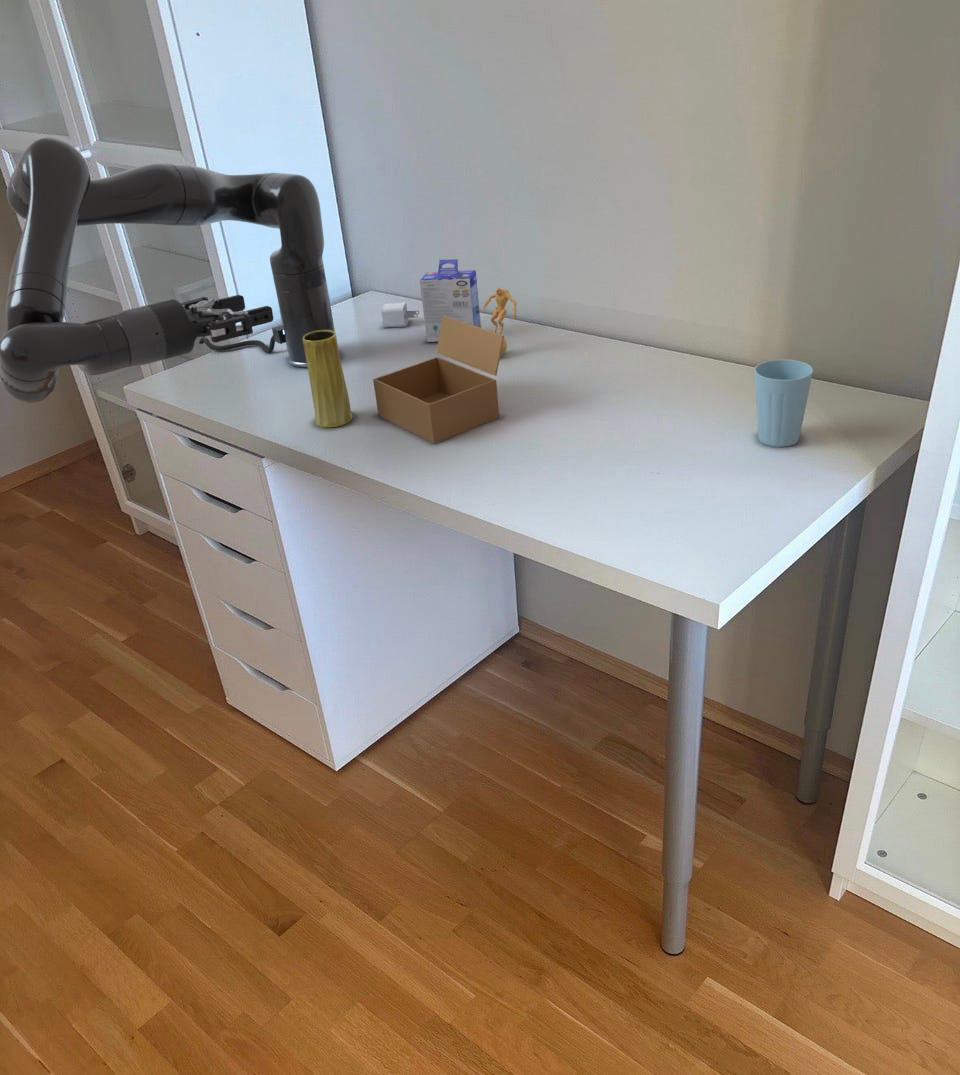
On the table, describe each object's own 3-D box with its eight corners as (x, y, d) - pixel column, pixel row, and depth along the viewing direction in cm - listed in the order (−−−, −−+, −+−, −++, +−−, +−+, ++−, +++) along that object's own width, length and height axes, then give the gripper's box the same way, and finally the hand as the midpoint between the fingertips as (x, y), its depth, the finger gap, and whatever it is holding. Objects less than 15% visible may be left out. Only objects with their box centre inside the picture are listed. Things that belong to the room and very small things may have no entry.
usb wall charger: (387, 322, 201) (385, 302, 199) (421, 320, 200) (418, 301, 198) (383, 328, 197) (381, 309, 195) (418, 327, 196) (415, 307, 194)
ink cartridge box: (483, 332, 190) (476, 256, 183) (477, 342, 185) (469, 265, 178) (433, 333, 192) (424, 258, 185) (426, 343, 188) (416, 267, 180)
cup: (748, 449, 138) (752, 378, 133) (752, 426, 144) (756, 358, 139) (805, 452, 136) (811, 381, 130) (807, 428, 142) (813, 359, 136)
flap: (442, 315, 160) (444, 315, 161) (436, 353, 162) (437, 353, 162) (502, 335, 149) (504, 335, 150) (495, 375, 151) (496, 375, 151)
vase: (322, 431, 156) (306, 345, 149) (310, 418, 161) (294, 334, 154) (358, 421, 158) (344, 335, 151) (345, 409, 163) (331, 325, 156)
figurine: (472, 355, 180) (466, 290, 174) (495, 345, 183) (490, 281, 177) (505, 363, 175) (500, 297, 168) (528, 353, 178) (524, 287, 172)
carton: (378, 415, 160) (372, 379, 157) (441, 392, 166) (437, 356, 163) (434, 443, 149) (429, 405, 145) (499, 417, 155) (496, 379, 152)
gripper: (167, 317, 128) (277, 290, 137) (124, 296, 138) (230, 273, 147) (179, 372, 132) (285, 342, 141) (136, 348, 142) (238, 322, 150)
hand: (257, 307), depth 144 cm, fingers open, 8 cm apart
